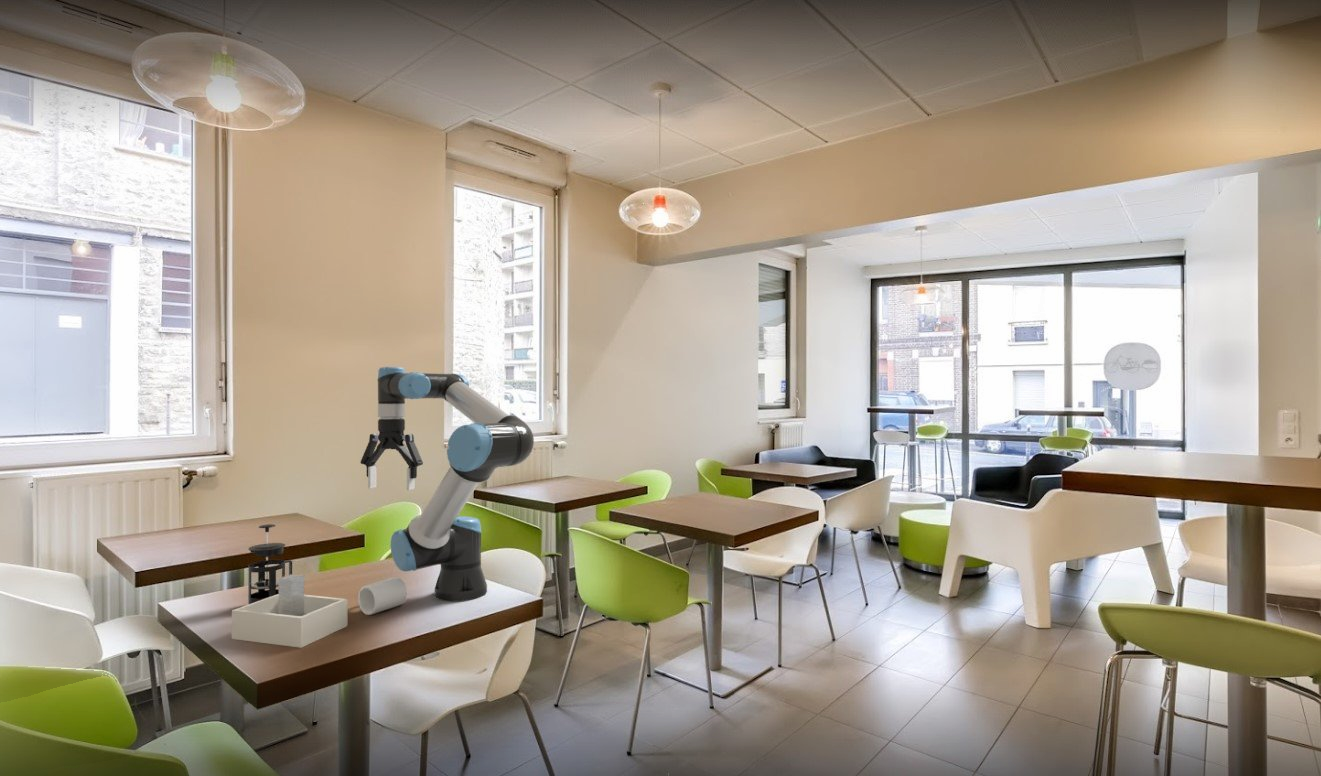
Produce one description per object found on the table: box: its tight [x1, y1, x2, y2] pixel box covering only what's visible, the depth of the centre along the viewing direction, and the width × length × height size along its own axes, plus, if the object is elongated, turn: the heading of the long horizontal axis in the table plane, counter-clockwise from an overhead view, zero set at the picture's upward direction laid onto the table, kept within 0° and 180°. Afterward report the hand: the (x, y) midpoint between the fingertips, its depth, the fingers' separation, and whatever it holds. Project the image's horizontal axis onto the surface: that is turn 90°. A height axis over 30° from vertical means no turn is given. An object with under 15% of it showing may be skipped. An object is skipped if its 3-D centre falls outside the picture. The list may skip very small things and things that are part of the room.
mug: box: [357, 576, 408, 616], centre depth 184 cm, size 12×10×8 cm
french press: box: [247, 523, 293, 605], centre depth 187 cm, size 12×9×23 cm
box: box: [231, 594, 348, 649], centre depth 165 cm, size 21×15×7 cm
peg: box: [278, 573, 305, 616], centre depth 165 cm, size 4×4×14 cm
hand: (391, 488), depth 197 cm, fingers open, 13 cm apart
